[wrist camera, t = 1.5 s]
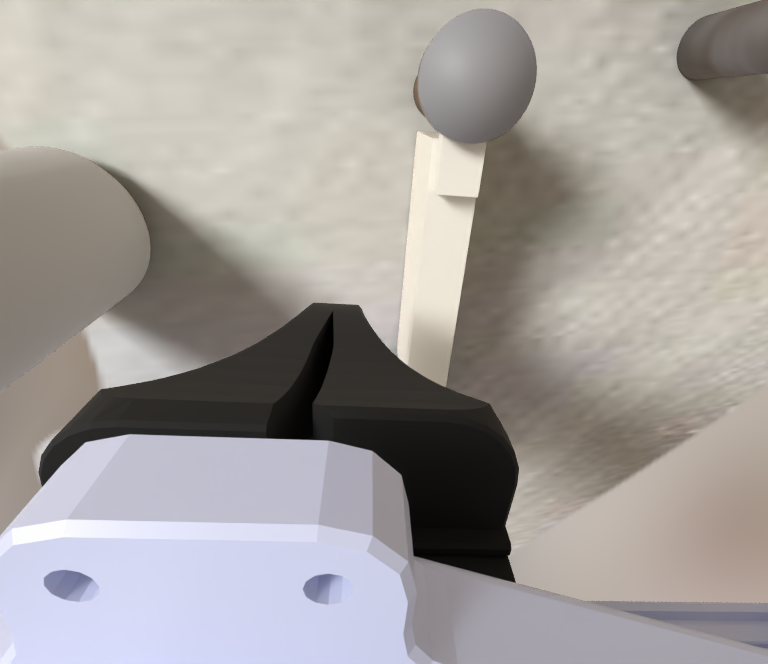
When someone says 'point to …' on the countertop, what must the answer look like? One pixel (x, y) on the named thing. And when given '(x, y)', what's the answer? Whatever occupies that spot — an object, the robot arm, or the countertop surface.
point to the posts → (720, 45)
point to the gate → (455, 169)
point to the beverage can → (61, 252)
